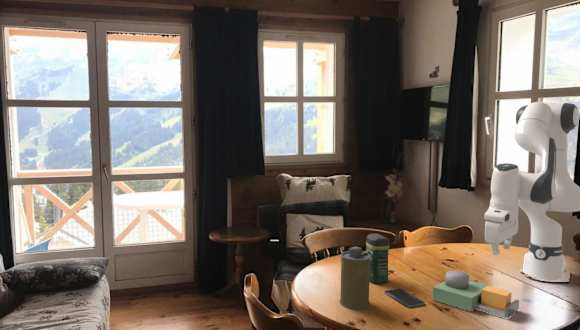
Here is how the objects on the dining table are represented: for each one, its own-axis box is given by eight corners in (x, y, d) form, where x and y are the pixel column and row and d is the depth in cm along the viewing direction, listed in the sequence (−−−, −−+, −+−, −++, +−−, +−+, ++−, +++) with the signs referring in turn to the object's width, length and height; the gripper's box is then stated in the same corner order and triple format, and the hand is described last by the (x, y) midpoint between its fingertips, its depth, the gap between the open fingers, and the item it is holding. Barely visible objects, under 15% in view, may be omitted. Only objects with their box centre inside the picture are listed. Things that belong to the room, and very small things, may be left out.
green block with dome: (453, 289, 176) (454, 266, 175) (490, 299, 166) (491, 275, 165) (432, 300, 164) (433, 276, 164) (471, 312, 155) (472, 286, 154)
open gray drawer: (486, 301, 164) (487, 291, 163) (518, 310, 156) (519, 300, 156) (474, 309, 157) (475, 299, 156) (507, 319, 149) (508, 308, 149)
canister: (354, 311, 154) (355, 253, 152) (333, 301, 163) (334, 246, 161) (376, 304, 161) (378, 248, 159) (355, 294, 169) (357, 241, 167)
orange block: (486, 302, 161) (487, 285, 161) (510, 309, 156) (511, 292, 155) (480, 306, 158) (481, 289, 157) (505, 313, 152) (506, 296, 152)
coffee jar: (391, 283, 181) (392, 237, 179) (373, 285, 179) (374, 238, 177) (379, 275, 191) (381, 231, 189) (362, 276, 188) (363, 232, 186)
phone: (407, 306, 157) (383, 290, 171) (407, 309, 158) (383, 293, 171) (426, 303, 160) (400, 288, 174) (426, 306, 160) (400, 290, 174)
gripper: (505, 205, 165) (503, 243, 166) (482, 215, 150) (479, 256, 152) (524, 208, 160) (521, 246, 162) (501, 218, 146) (499, 260, 148)
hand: (501, 251), depth 157 cm, fingers open, 8 cm apart
